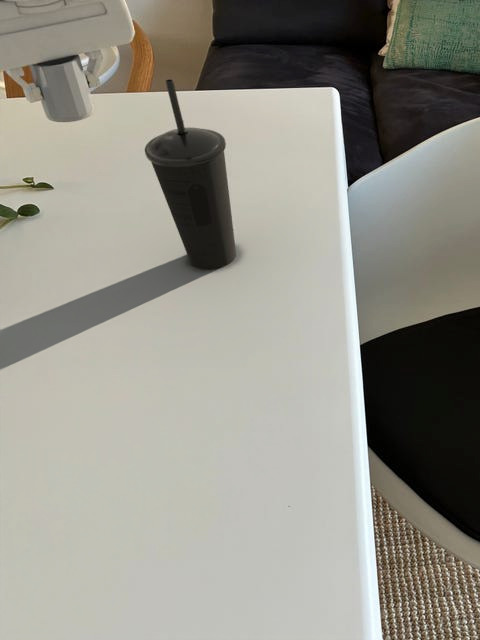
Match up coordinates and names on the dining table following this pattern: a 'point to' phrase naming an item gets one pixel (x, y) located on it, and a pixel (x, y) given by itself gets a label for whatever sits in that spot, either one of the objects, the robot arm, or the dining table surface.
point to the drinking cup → (195, 189)
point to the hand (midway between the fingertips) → (65, 92)
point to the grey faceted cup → (63, 89)
